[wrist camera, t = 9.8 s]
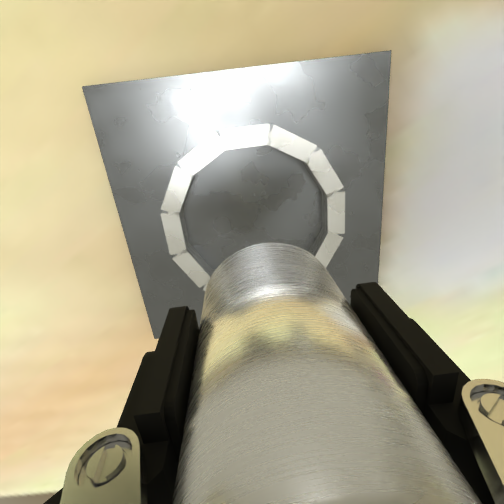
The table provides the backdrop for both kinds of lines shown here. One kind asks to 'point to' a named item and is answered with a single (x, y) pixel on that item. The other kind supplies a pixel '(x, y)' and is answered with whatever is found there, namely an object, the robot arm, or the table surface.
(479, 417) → the robot arm
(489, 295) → the table surface
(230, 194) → the ring mat
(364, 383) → the piston
